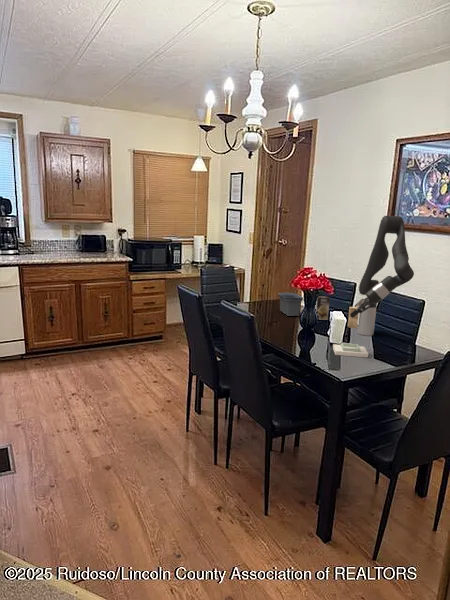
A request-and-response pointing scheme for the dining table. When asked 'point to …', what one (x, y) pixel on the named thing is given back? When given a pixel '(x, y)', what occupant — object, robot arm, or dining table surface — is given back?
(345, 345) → the socket base
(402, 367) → the dining table surface
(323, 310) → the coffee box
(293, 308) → the storage bin
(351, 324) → the birch pillar block
